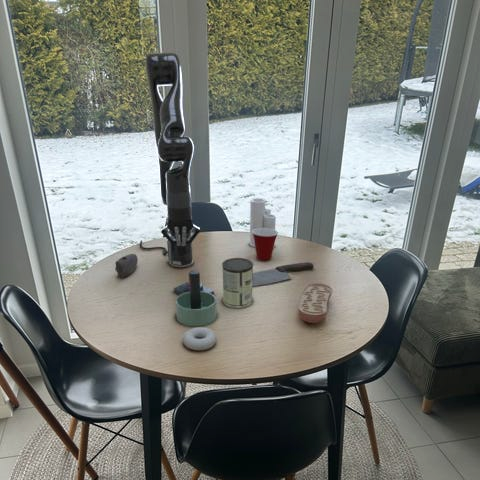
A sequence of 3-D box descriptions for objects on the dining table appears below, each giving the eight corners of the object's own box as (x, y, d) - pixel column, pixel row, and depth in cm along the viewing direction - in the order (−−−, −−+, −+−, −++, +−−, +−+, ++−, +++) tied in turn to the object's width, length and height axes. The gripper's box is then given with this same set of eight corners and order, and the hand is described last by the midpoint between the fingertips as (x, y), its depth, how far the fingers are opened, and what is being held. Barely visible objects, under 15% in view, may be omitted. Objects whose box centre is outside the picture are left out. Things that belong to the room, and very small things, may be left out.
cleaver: (307, 264, 191) (307, 259, 190) (320, 273, 184) (321, 268, 183) (241, 278, 180) (241, 273, 179) (253, 288, 173) (253, 283, 172)
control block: (174, 292, 169) (173, 283, 168) (192, 284, 175) (191, 276, 173) (195, 303, 162) (195, 294, 160) (214, 295, 167) (213, 286, 166)
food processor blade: (179, 317, 152) (176, 274, 145) (191, 306, 158) (189, 265, 151) (201, 322, 149) (199, 279, 142) (212, 311, 156) (211, 269, 148)
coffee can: (228, 292, 169) (228, 255, 162) (256, 297, 166) (257, 259, 159) (218, 305, 161) (217, 267, 154) (246, 310, 158) (247, 271, 151)
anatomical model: (324, 330, 147) (325, 316, 145) (292, 325, 149) (293, 311, 147) (332, 297, 166) (333, 285, 164) (304, 294, 168) (305, 281, 166)
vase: (248, 246, 208) (248, 201, 198) (251, 240, 214) (252, 197, 204) (273, 248, 206) (275, 203, 196) (276, 243, 212) (278, 198, 202)
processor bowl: (168, 316, 154) (167, 299, 151) (198, 303, 162) (197, 287, 159) (194, 330, 146) (193, 314, 143) (224, 316, 154) (224, 300, 151)
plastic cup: (280, 256, 199) (282, 228, 193) (271, 265, 191) (272, 237, 185) (257, 251, 203) (258, 224, 197) (247, 260, 194) (247, 232, 188)
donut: (215, 334, 145) (183, 334, 144) (215, 324, 143) (182, 325, 142) (217, 352, 136) (182, 353, 136) (217, 342, 135) (182, 343, 134)
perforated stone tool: (131, 264, 191) (129, 248, 187) (143, 265, 190) (141, 249, 186) (112, 279, 178) (110, 262, 175) (125, 281, 177) (123, 263, 174)
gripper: (157, 208, 144) (161, 260, 153) (200, 207, 145) (202, 259, 154) (158, 201, 150) (162, 251, 159) (200, 200, 151) (201, 250, 160)
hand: (182, 255), depth 156 cm, fingers closed
